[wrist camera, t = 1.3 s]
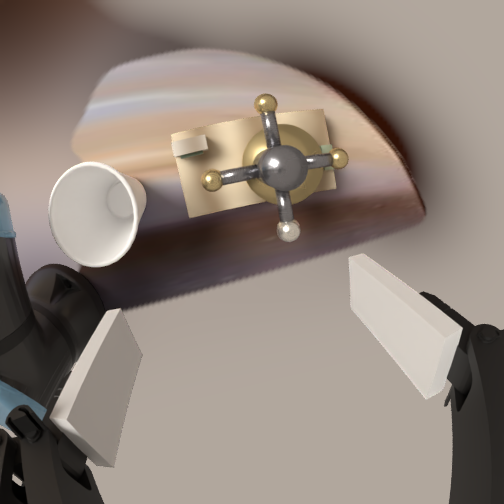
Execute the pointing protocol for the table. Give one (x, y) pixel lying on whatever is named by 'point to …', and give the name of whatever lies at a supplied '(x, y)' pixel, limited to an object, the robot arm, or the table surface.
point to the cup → (95, 213)
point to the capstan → (279, 166)
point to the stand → (235, 158)
